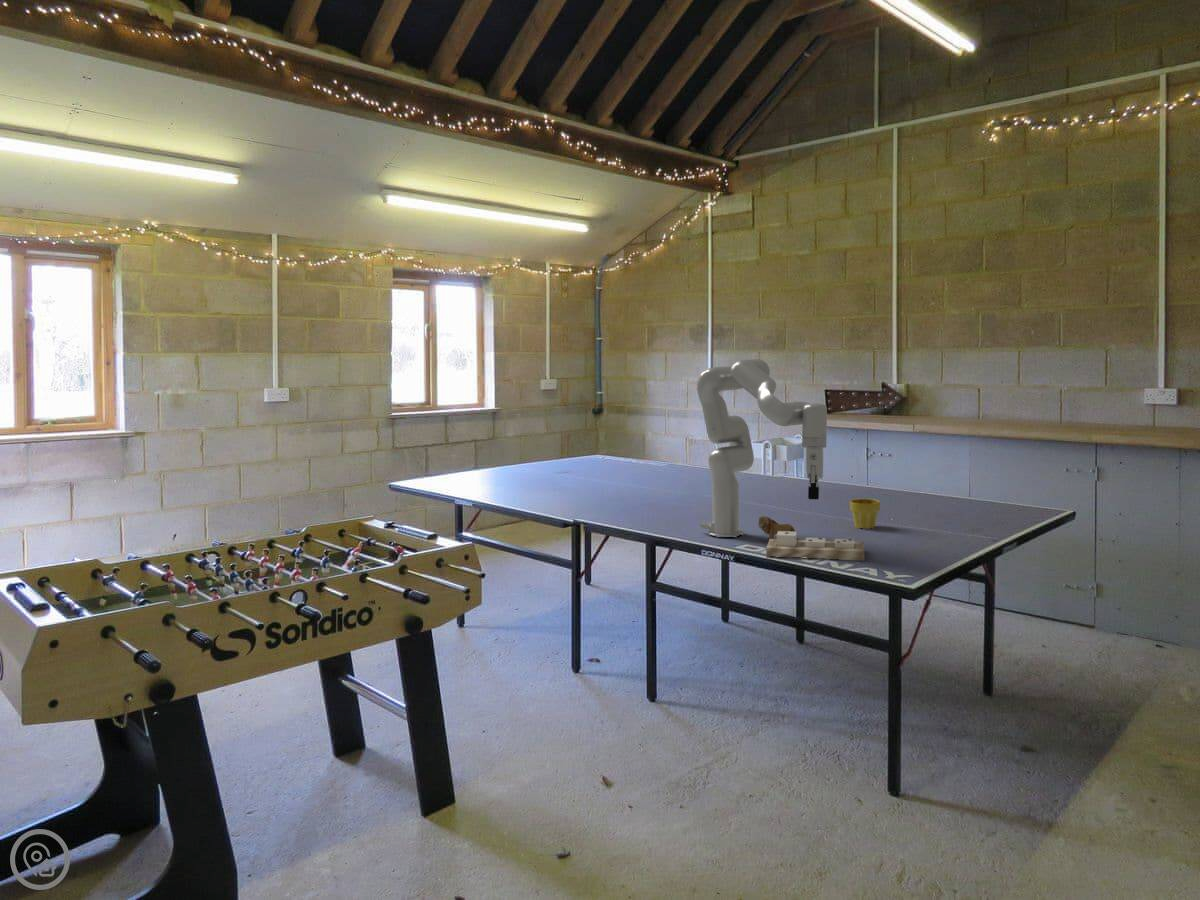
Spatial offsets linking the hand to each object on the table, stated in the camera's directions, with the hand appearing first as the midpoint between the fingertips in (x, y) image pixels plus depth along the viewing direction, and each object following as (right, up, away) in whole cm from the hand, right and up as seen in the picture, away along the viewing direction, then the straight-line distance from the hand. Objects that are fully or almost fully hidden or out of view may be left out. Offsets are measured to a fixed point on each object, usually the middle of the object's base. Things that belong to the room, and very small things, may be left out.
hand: (813, 498), depth 278 cm
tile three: (+9, -17, -2) cm, 20 cm away
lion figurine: (-8, -16, +18) cm, 25 cm away
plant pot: (+28, -13, +37) cm, 48 cm away
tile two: (+1, -17, +1) cm, 17 cm away
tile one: (-8, -15, +3) cm, 18 cm away
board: (+1, -18, +1) cm, 18 cm away
